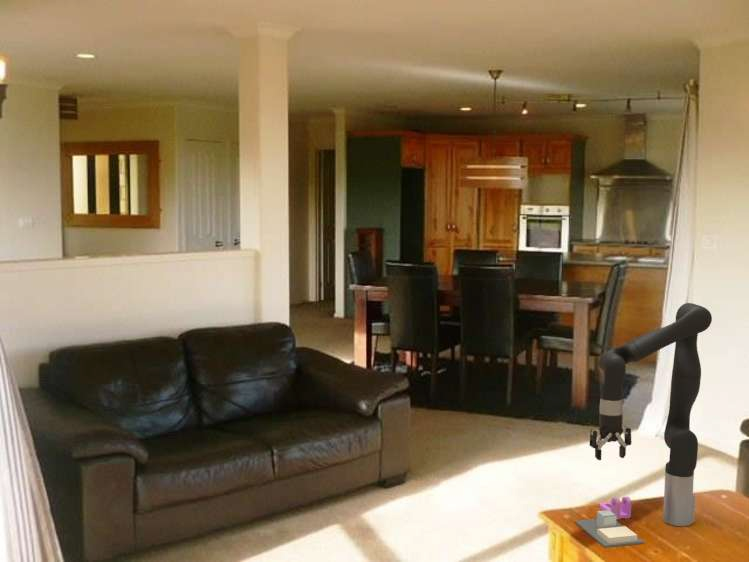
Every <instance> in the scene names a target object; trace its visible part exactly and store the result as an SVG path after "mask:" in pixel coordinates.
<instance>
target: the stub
mask: <svg viewBox="0 0 749 562" xmlns="http://www.w3.org/2000/svg"><path fill="white" fill-rule="evenodd" d="M596 519H597V527H598V528H603V527H613V526H616V521H617V520H618V519H617V515H615V514H614V513H612V512H611V511H610V510H605V511H603V510H597V511H596Z"/></svg>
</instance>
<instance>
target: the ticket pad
mask: <svg viewBox="0 0 749 562" xmlns="http://www.w3.org/2000/svg"><path fill="white" fill-rule="evenodd" d="M574 524H575V525H576V526H578V527H579V528H581V530H583V531H584V532H585V533H587V534H588V535H589V536H590V538H592V539H593V540H595V541H596V542H598V543H599V544H600V545H601V546H603V548H611V547H612V548H613V547H622V546H623V545H625V546H631V545H642V544H645V541H644V540H642V539H641V538H640V537H639V536H638V534H637V533H635V532H634V531H632V530H631V529H629V527H627V526H626V525H623V524H621V523H620V522H619V521H617V520H616V526H613V527H603V528H598V527H597V518H592V519H581V520H580V519H579V520H574ZM623 547H624V546H623Z"/></svg>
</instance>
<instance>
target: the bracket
mask: <svg viewBox="0 0 749 562" xmlns="http://www.w3.org/2000/svg"><path fill="white" fill-rule="evenodd" d="M599 509H600V510H601V511H605V510H610V511H611V512H612V513H614V514H615V515H617V520H621V519H620V518H625V519H631V518H632V500H631V498H630V497H629V496H623V497H622V498H621V500H620V498H619V497H615V498H614V497H612V498H611V502H610V501H609V502H608V501H602V502H600V503H599ZM630 517H631V518H630Z"/></svg>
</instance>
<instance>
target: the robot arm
mask: <svg viewBox="0 0 749 562" xmlns="http://www.w3.org/2000/svg"><path fill="white" fill-rule="evenodd" d="M712 318H713V316H712V313H711V311H710V310H709V309H707V308H706V307H704V306H701V305H700V304H696V303H692V302H685V303H683V304H682V305H681V306H679V307H678V309H677V311H676V314H675V321H674V322H673V323H671V324H668V325H666V326H663V327H661V328H658V329H654V330H652V331H649V332H646V333H644V334H641V335H639V336H637V337H635V338H634V339H632V340H630V341H628V342H627V343H625V344H623V345H622V344H621V345H619V346H617V347H613V348H610V349H609V350H606V351H605V352H604V353H602V354H601V355H600V356H599V359H598V367H599V368H600V369H601V371H603V372H604V381H602V382H601V385H600V401H599V417H598V418H599V423H598V424H599V428H598V429H594V428H591V429H590V432H589V433H590V435H589V447H591V448H593V449H594V458H595V459H596V460H597V461H602V448H603V446H604V445H606V443H612V442H613V443H614V442H617V443H618V444H619V447H618V449H619V450H618V451H619V452H618V453H619V455H618V456H619V458H621V459H624V458H625V457H626V454H627V451H626V450H627V446H631V445H632V428H631V427H629V426H624V427H623V423H624V422H623V420H624V419H623V417H624V416H623V411H624V409H623V408H624V407H623V384H624V381H625V378H626V377H625V376H626V371H627V370H626V369H627V368H626V364H629V363H638V362H639V361H642V360H643V359H645V358H647V357H649V356H651V355H653V354H654V353H656V352H658V351H659V350H663V349H664V348H665V347H667V346H670V345H672V344H674V343H675V345H674V353H673V363H672V372H671V378H670V379H671V380H670V397H669V406H668V407H669V409H668V414H667V415H668V416H667V419H666V424H665V429H664V433H663V440H664V443H665V445H666V446H667V448H669V461H668V462H666V463H665V467H664V468H665V469H664V470H665V471H664V472H665V473H664V492H663V493H664V494H663V514H662V517H663V518H662V520H663V522H664V523H666V524H668V525H670V526H674V527H675V526H676V527H688V526H690V525H692V524H695V512H696V511H695V509H696V495H694V480H695V477H694V475H695V470H696V467H697V464H698V463H697V461H698V451H699V441H698V438H697V437H698V436H696V434H695V433H694V432H693V431H692V430H690V429H691V428H690V422H691V421H690V419H691V412H692V409H693V406H694V404H695V402H696V400H697V397H698V395H699V393H700V387H701V378H702V366H701V362H700V356H699V351H698V336H699V334H700V333H703V332H704V331H707V330H708V328H710V326H711V324H712V322H713V320H712ZM622 434H623V435H624V439H623V437H622Z"/></svg>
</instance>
